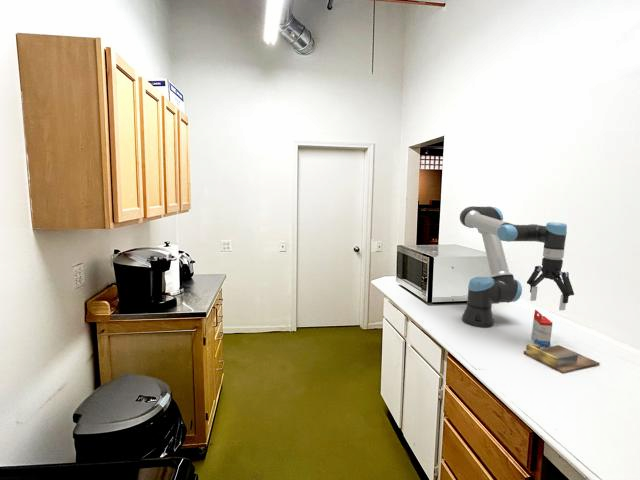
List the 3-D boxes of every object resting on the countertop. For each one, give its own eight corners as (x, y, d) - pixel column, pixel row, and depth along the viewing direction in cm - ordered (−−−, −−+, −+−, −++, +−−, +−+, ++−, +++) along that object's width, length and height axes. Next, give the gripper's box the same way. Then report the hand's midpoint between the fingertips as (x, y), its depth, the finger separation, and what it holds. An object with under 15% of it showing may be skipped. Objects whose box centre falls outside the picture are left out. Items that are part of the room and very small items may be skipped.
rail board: (523, 353, 150) (524, 343, 149) (558, 347, 157) (559, 337, 157) (562, 373, 134) (564, 362, 134) (599, 365, 142) (601, 354, 141)
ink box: (550, 348, 156) (554, 316, 154) (537, 346, 157) (541, 315, 155) (542, 340, 164) (546, 309, 162) (530, 339, 165) (534, 308, 163)
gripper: (521, 253, 164) (516, 297, 167) (575, 264, 141) (569, 315, 144) (533, 252, 167) (528, 296, 170) (588, 263, 144) (581, 313, 147)
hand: (547, 305), depth 157 cm, fingers open, 13 cm apart
